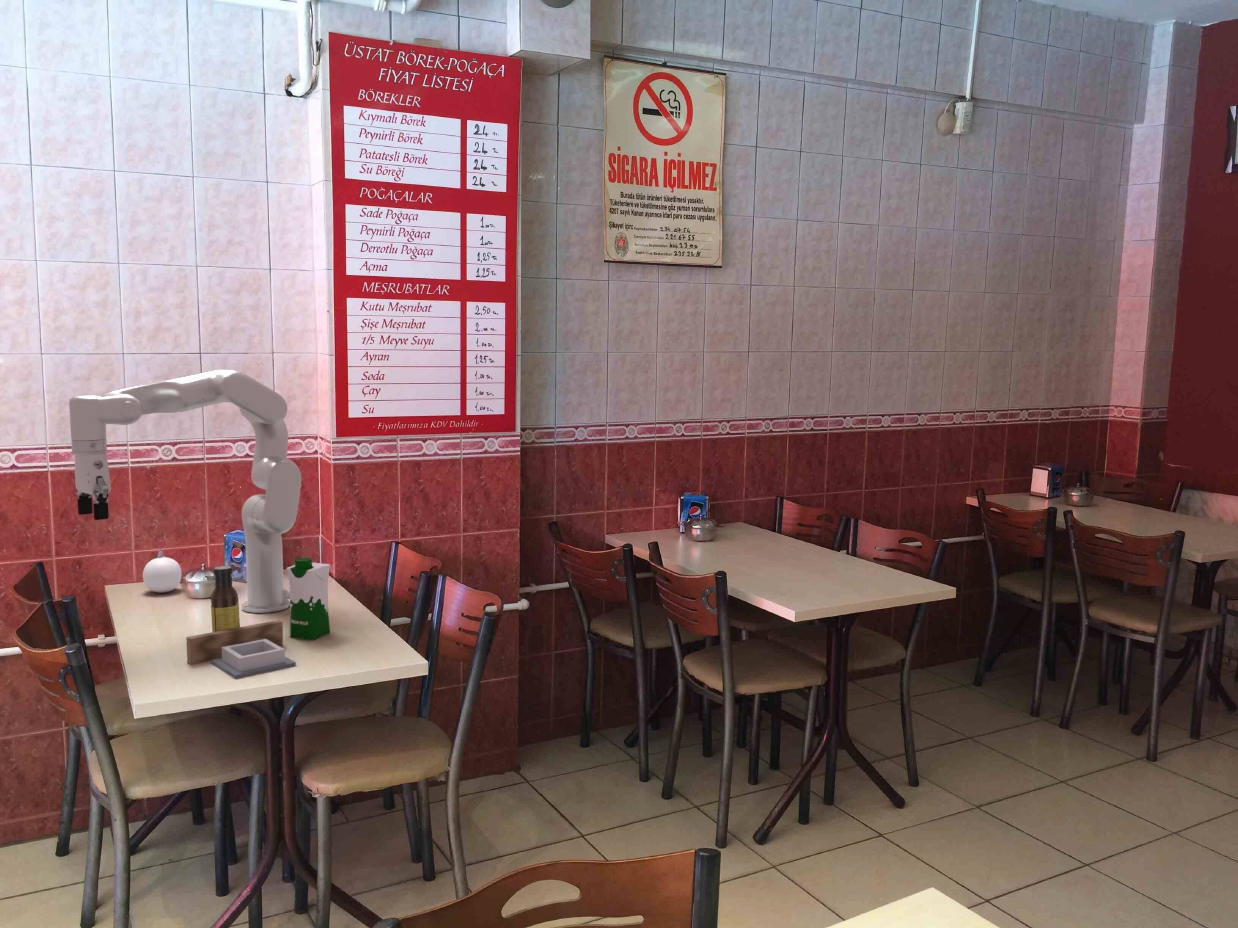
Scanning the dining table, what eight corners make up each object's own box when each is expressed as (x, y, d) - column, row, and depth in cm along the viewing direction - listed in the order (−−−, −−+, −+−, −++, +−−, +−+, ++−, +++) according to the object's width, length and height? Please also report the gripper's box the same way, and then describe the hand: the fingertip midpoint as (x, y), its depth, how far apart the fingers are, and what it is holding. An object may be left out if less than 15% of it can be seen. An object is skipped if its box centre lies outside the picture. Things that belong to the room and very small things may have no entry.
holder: (270, 650, 239) (270, 635, 239) (295, 665, 229) (295, 649, 229) (211, 662, 230) (210, 646, 229) (235, 678, 220) (234, 662, 219)
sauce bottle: (246, 646, 242) (243, 566, 240) (225, 653, 237) (222, 571, 234) (228, 642, 245) (225, 563, 243) (206, 649, 240) (203, 568, 237)
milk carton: (284, 638, 250) (282, 559, 247) (307, 628, 258) (305, 552, 256) (314, 642, 247) (312, 562, 244) (335, 632, 255) (334, 555, 253)
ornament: (151, 587, 297) (149, 548, 295) (186, 587, 298) (185, 547, 296) (138, 596, 286) (136, 555, 285) (175, 596, 288) (173, 555, 286)
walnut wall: (279, 643, 245) (278, 619, 244) (283, 645, 243) (282, 621, 243) (187, 662, 230) (186, 636, 229) (190, 664, 229) (189, 638, 228)
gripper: (120, 448, 238) (124, 519, 240) (91, 442, 249) (95, 510, 251) (86, 451, 232) (91, 523, 234) (59, 445, 243) (63, 514, 246)
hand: (93, 516), depth 243 cm, fingers open, 9 cm apart
